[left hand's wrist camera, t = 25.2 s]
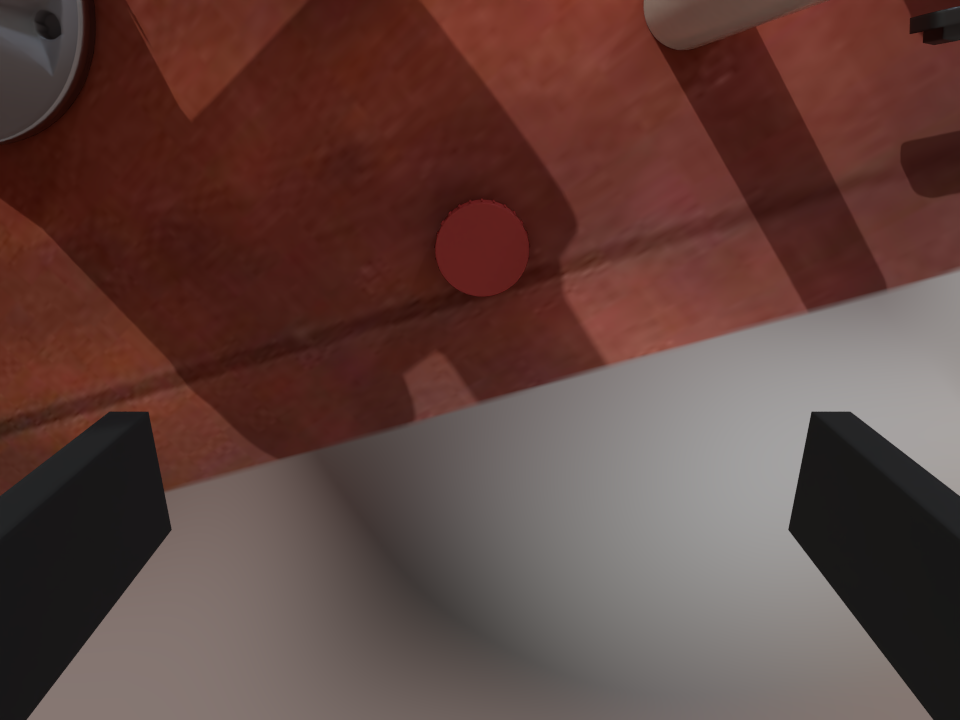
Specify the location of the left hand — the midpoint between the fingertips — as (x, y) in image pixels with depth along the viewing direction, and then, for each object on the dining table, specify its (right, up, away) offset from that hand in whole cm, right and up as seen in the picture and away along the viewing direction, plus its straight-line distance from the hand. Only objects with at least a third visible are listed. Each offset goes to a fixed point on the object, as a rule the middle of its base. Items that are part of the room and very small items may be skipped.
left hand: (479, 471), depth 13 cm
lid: (0, +9, +25) cm, 26 cm away
